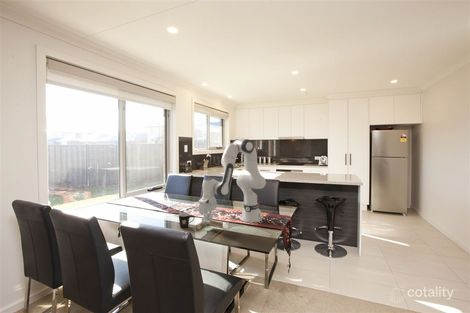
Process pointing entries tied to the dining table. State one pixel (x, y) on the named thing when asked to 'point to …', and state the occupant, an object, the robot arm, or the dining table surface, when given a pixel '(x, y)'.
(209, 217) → the bracket
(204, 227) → the pad
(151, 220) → the dining table surface
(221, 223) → the corner walls
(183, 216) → the coffee mug
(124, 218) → the dining table surface
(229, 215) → the dining table surface
